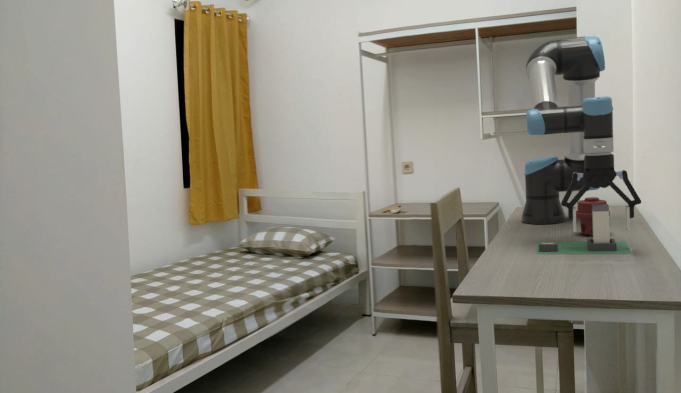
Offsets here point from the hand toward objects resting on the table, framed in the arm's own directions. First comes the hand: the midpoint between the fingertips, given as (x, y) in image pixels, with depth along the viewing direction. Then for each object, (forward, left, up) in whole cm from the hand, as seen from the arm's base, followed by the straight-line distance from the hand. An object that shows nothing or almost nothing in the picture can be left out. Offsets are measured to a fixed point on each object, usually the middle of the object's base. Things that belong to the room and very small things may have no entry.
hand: (601, 230), depth 171 cm
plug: (0, 0, -5) cm, 5 cm away
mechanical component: (-21, -1, -6) cm, 22 cm away
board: (-1, -5, -6) cm, 8 cm away
